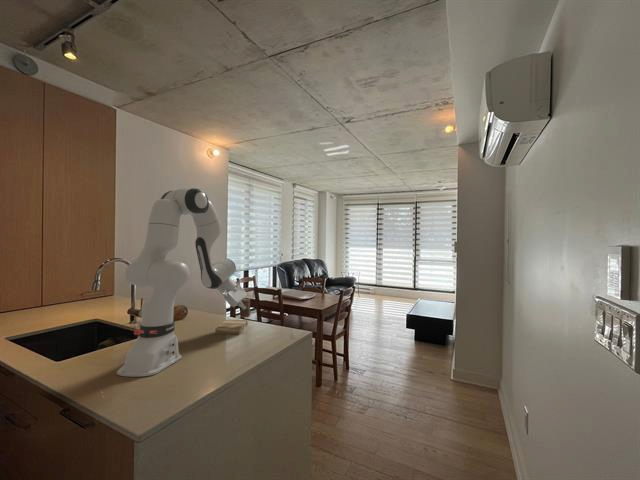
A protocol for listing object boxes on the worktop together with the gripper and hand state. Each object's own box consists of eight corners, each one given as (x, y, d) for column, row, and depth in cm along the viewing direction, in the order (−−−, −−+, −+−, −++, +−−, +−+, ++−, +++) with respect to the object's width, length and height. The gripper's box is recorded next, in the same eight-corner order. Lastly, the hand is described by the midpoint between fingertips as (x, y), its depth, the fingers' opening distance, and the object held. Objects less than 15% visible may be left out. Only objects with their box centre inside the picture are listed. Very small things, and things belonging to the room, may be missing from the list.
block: (248, 317, 151) (248, 300, 151) (241, 317, 151) (241, 300, 151) (250, 315, 155) (250, 298, 154) (243, 315, 155) (243, 298, 155)
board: (239, 334, 145) (239, 329, 145) (215, 333, 145) (215, 328, 145) (247, 324, 161) (247, 320, 161) (226, 324, 161) (226, 319, 161)
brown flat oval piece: (161, 324, 160) (161, 308, 160) (159, 323, 162) (159, 308, 162) (188, 318, 172) (188, 304, 172) (185, 317, 174) (185, 303, 174)
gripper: (226, 288, 142) (246, 308, 142) (238, 281, 163) (255, 298, 163) (217, 297, 142) (237, 317, 142) (230, 289, 163) (247, 306, 163)
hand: (247, 307), depth 153 cm, fingers closed on block, 4 cm apart
